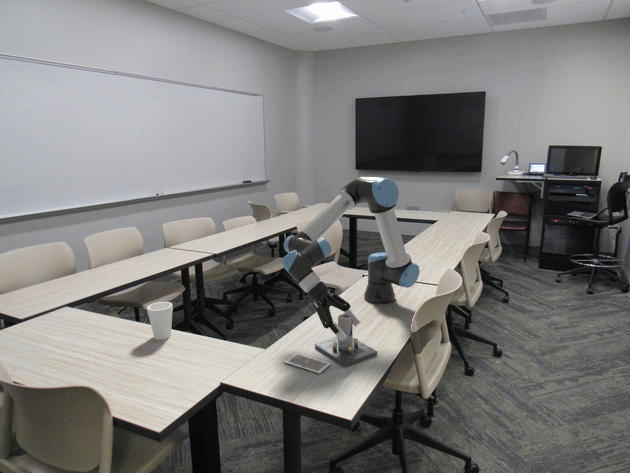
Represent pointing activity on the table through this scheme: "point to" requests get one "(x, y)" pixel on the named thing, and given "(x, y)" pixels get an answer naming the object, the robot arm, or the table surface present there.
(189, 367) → the table surface
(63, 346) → the table surface
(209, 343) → the table surface
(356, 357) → the standoff plate
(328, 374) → the table surface
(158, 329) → the foam cup
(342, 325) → the energy drink
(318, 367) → the touchpad
